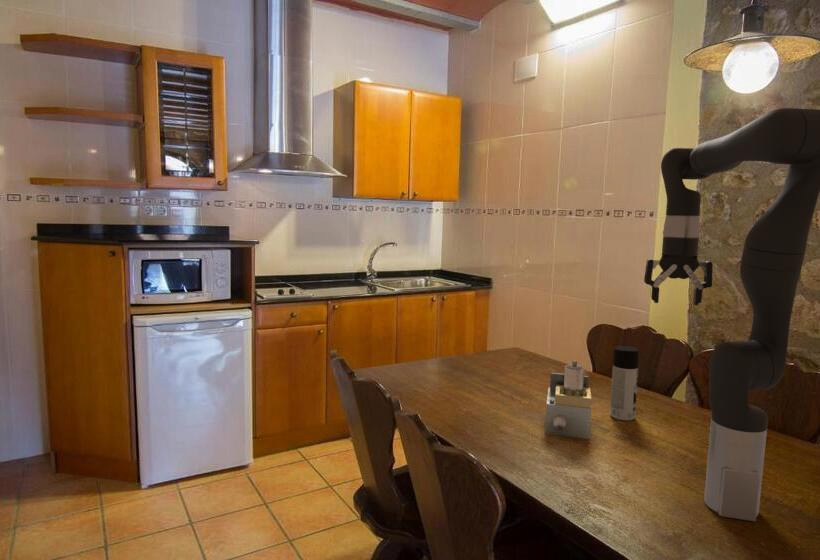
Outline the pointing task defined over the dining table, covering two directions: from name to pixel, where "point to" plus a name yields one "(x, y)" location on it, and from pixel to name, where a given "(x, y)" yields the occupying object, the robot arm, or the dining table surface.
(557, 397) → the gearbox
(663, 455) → the dining table surface
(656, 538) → the dining table surface
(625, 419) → the spray can
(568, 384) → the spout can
